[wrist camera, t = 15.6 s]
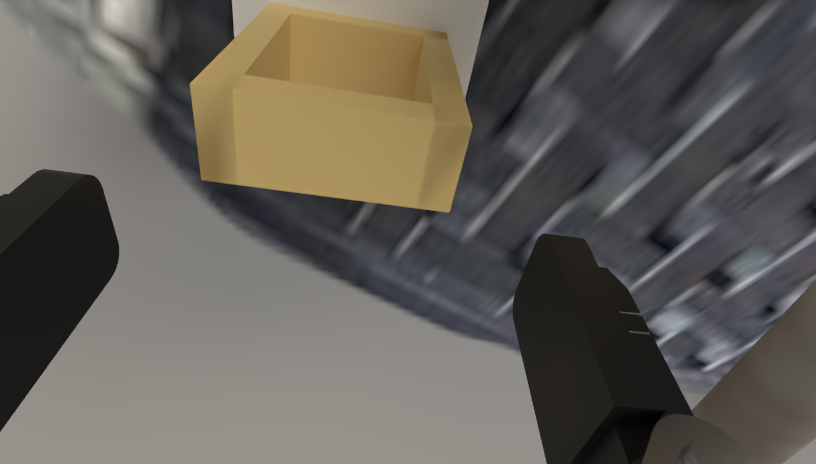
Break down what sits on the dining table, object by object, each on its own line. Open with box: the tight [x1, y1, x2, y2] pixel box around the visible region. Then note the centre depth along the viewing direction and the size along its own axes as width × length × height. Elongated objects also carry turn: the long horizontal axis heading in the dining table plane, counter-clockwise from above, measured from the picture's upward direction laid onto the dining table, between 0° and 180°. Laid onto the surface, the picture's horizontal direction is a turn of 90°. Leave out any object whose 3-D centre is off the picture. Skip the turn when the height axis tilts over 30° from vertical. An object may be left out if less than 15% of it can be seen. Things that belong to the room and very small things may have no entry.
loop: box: [190, 2, 473, 213], centre depth 15 cm, size 6×2×8 cm, turn 81°
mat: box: [232, 0, 489, 97], centre depth 18 cm, size 9×9×1 cm
